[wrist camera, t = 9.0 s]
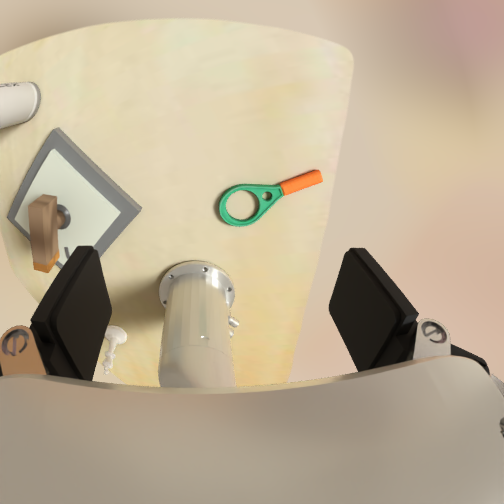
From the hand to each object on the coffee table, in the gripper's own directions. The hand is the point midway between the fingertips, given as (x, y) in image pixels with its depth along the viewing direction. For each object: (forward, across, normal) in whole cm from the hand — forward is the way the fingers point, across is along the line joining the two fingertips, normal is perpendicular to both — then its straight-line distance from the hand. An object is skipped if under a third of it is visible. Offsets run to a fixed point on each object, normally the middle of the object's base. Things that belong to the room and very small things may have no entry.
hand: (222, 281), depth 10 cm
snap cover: (+28, +23, +8) cm, 37 cm away
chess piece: (+28, +19, +35) cm, 49 cm away
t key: (+26, +23, +9) cm, 35 cm away
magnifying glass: (+29, -8, +6) cm, 31 cm away
